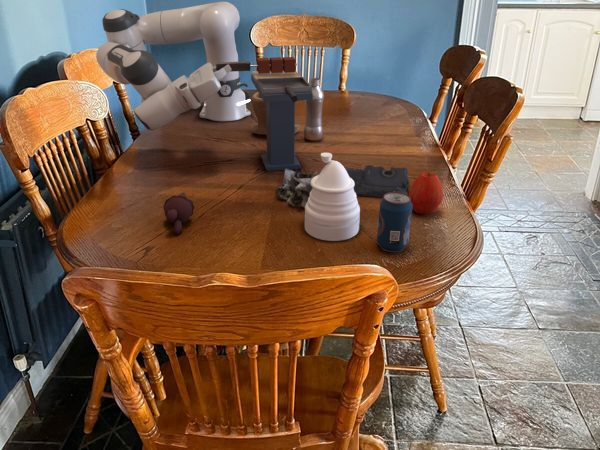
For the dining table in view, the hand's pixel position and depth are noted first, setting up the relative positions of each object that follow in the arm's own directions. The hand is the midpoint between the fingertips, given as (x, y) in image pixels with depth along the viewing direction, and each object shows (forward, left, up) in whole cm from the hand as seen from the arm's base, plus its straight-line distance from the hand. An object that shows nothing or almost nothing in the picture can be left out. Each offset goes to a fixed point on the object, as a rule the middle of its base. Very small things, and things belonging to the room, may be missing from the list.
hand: (229, 65), depth 159 cm
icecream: (+38, -17, -28) cm, 50 cm away
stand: (+6, +13, -28) cm, 32 cm away
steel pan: (+16, +13, -4) cm, 21 cm away
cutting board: (0, +13, -4) cm, 14 cm away
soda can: (+59, +29, -28) cm, 71 cm away
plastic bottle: (-13, +28, -28) cm, 42 cm away
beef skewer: (0, +8, -2) cm, 8 cm away
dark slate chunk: (+26, +34, -28) cm, 51 cm away
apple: (+44, +43, -28) cm, 68 cm away
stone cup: (-20, +16, -28) cm, 38 cm away
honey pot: (+48, +18, -28) cm, 58 cm away
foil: (+31, +14, -28) cm, 44 cm away
